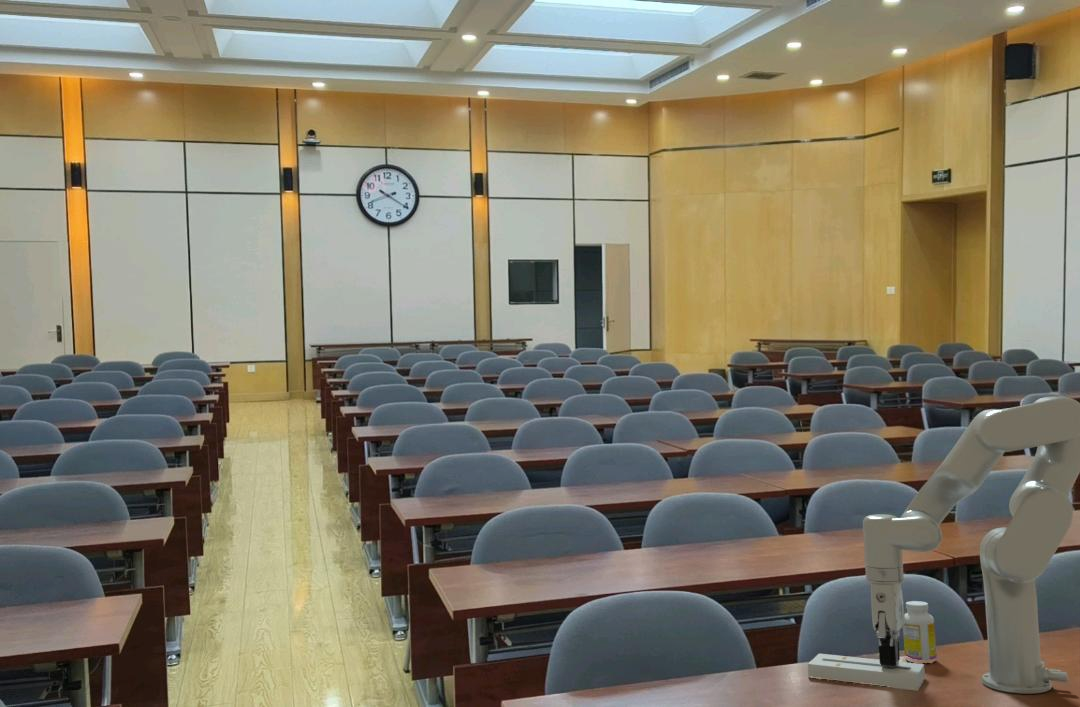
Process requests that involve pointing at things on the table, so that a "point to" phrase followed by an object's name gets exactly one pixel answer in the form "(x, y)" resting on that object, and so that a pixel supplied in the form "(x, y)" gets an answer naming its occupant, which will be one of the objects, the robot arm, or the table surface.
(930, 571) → the table surface
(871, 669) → the block
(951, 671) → the table surface
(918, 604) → the supplement bottle
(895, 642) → the fader tab
